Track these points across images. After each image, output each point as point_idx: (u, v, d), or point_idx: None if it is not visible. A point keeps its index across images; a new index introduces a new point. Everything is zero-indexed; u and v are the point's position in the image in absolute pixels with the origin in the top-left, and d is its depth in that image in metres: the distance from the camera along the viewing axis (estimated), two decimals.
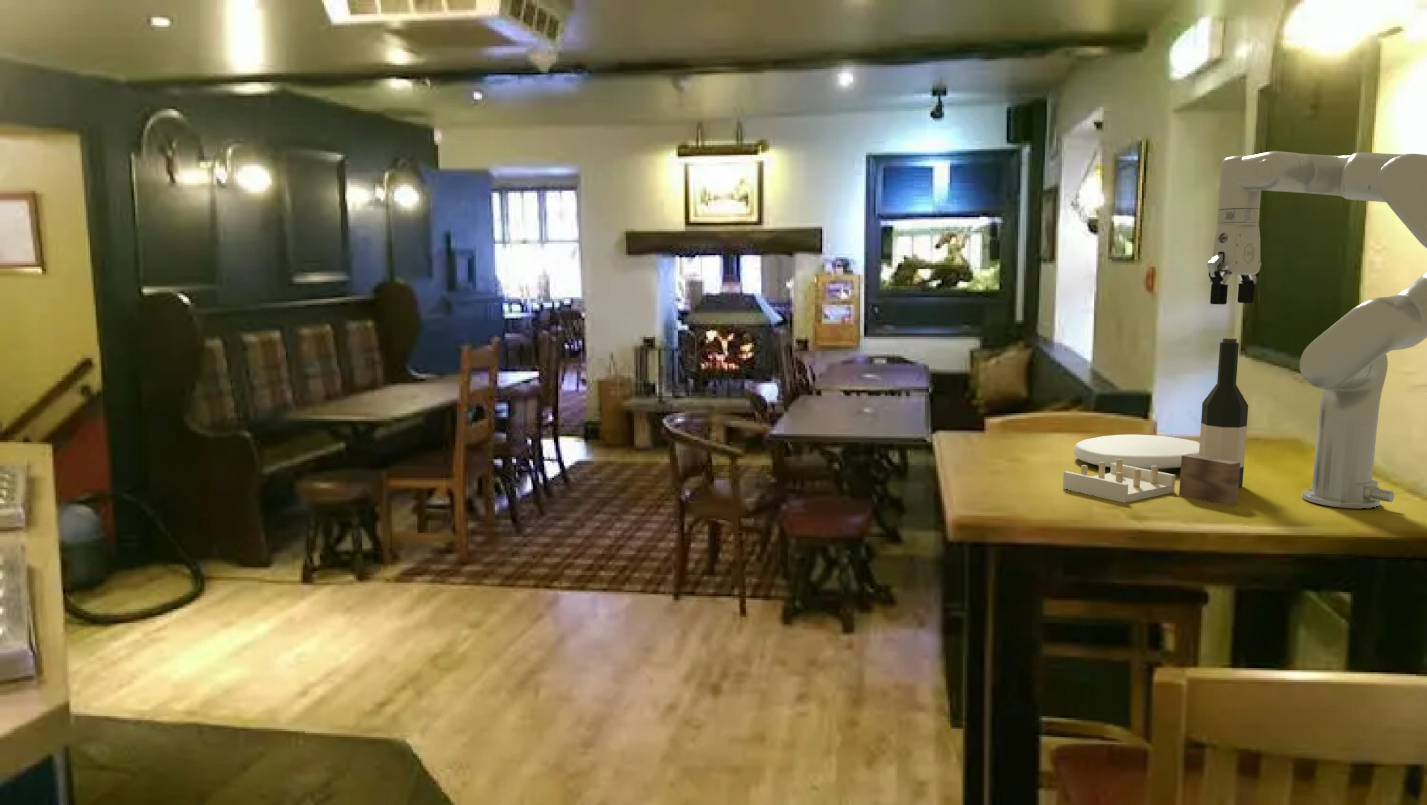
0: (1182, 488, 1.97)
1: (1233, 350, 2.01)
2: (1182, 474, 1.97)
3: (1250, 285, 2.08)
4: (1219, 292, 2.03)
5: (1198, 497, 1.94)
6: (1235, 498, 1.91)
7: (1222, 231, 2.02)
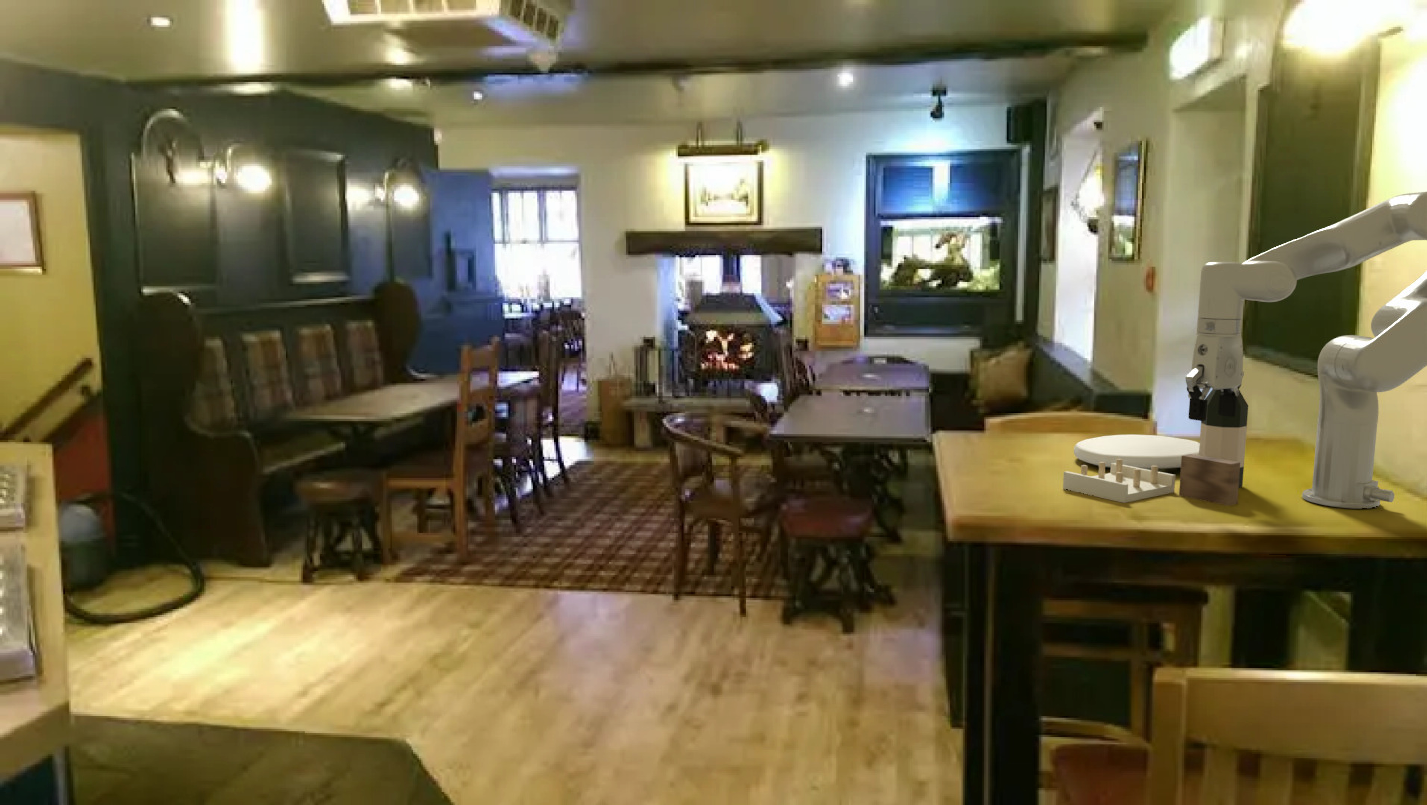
0: (1182, 488, 1.97)
1: None
2: (1182, 474, 1.97)
3: (1232, 398, 1.93)
4: (1198, 408, 1.88)
5: (1198, 497, 1.94)
6: (1235, 498, 1.91)
7: (1202, 342, 1.88)
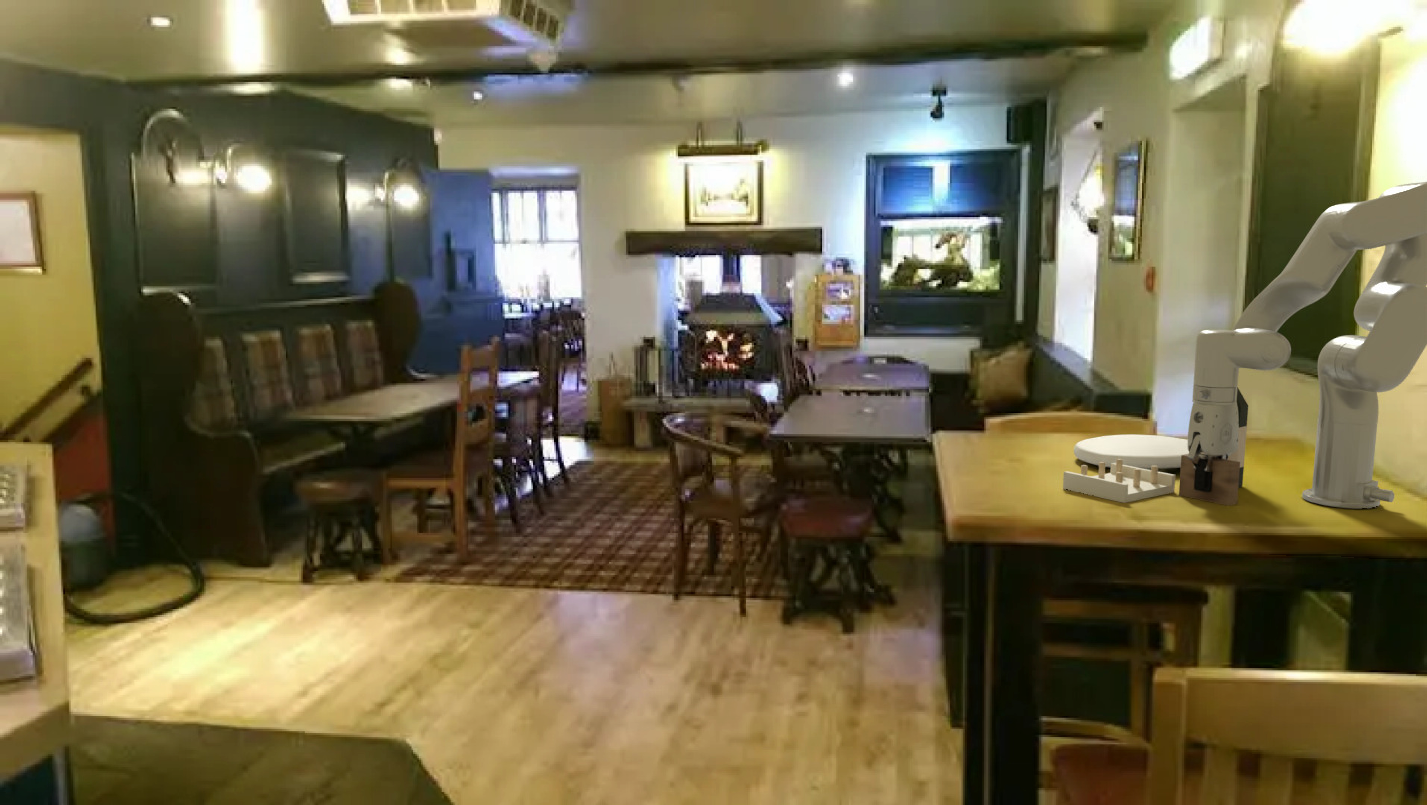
0: (1182, 488, 1.97)
1: None
2: (1182, 474, 1.97)
3: None
4: (1203, 479, 1.92)
5: (1198, 497, 1.94)
6: (1235, 497, 1.91)
7: (1198, 410, 1.90)
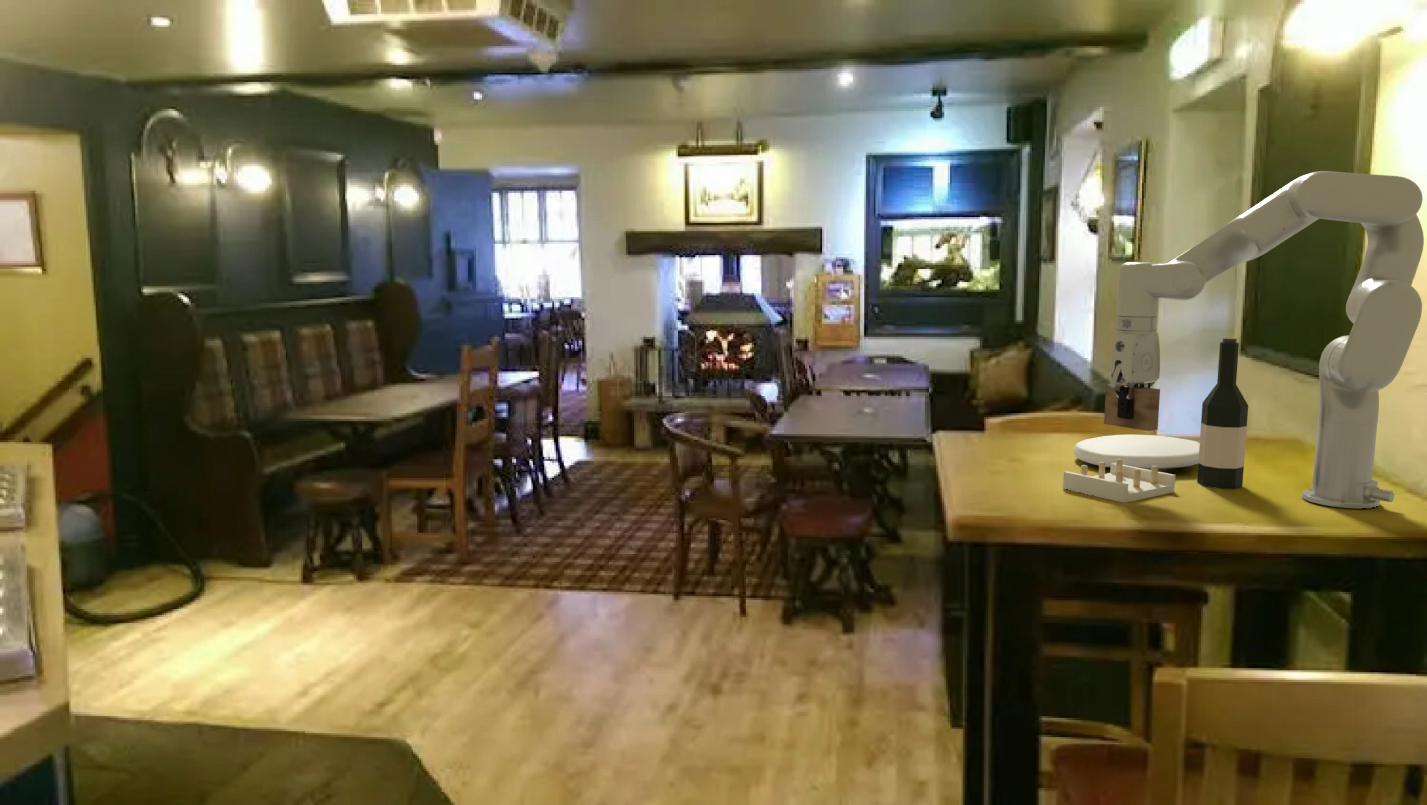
0: (1107, 416, 2.04)
1: (1233, 350, 2.01)
2: (1106, 403, 2.04)
3: None
4: (1125, 407, 1.99)
5: (1121, 424, 2.01)
6: (1156, 423, 1.98)
7: (1119, 339, 1.97)
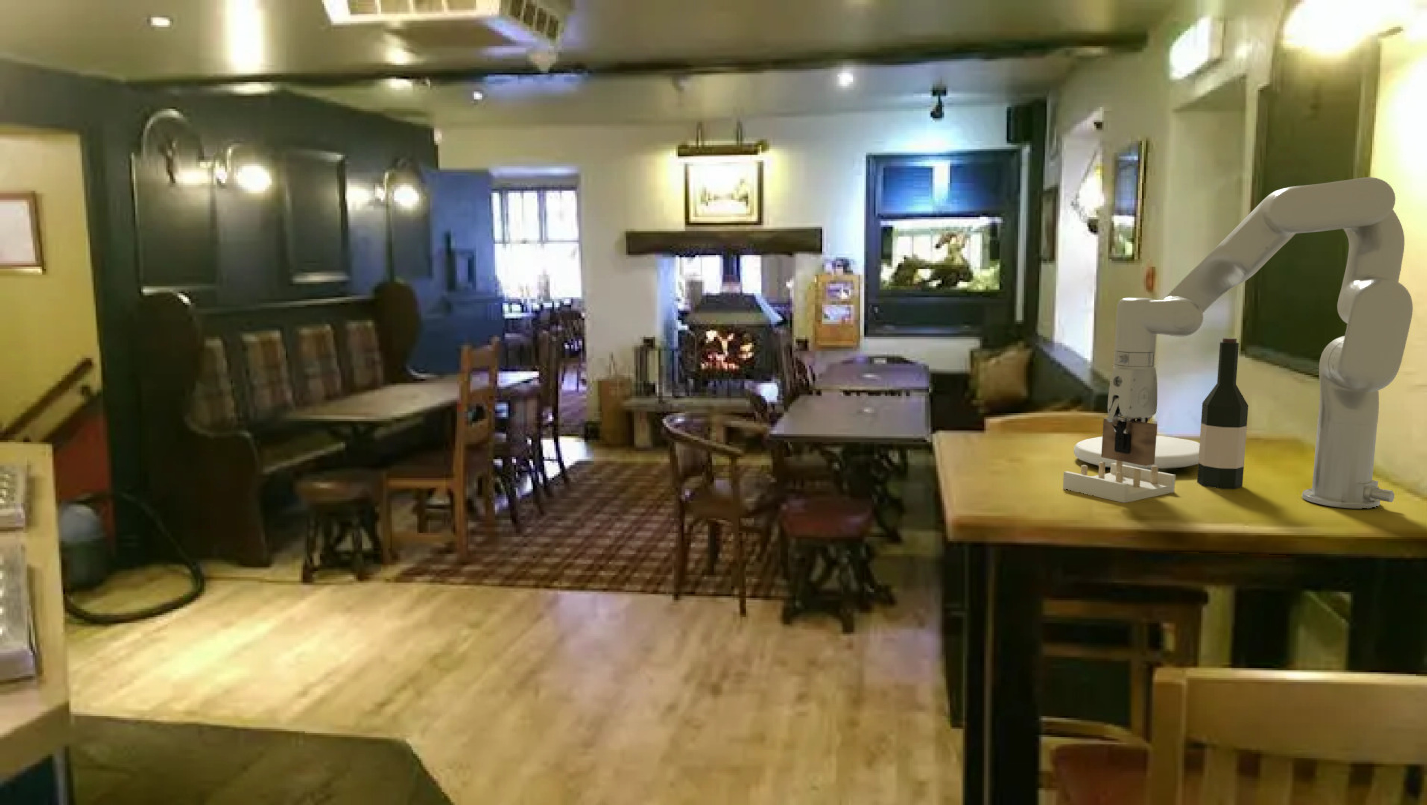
0: (1104, 450, 2.05)
1: (1233, 350, 2.01)
2: (1104, 436, 2.05)
3: None
4: (1122, 441, 2.00)
5: (1118, 458, 2.02)
6: (1152, 458, 1.99)
7: (1117, 374, 1.98)
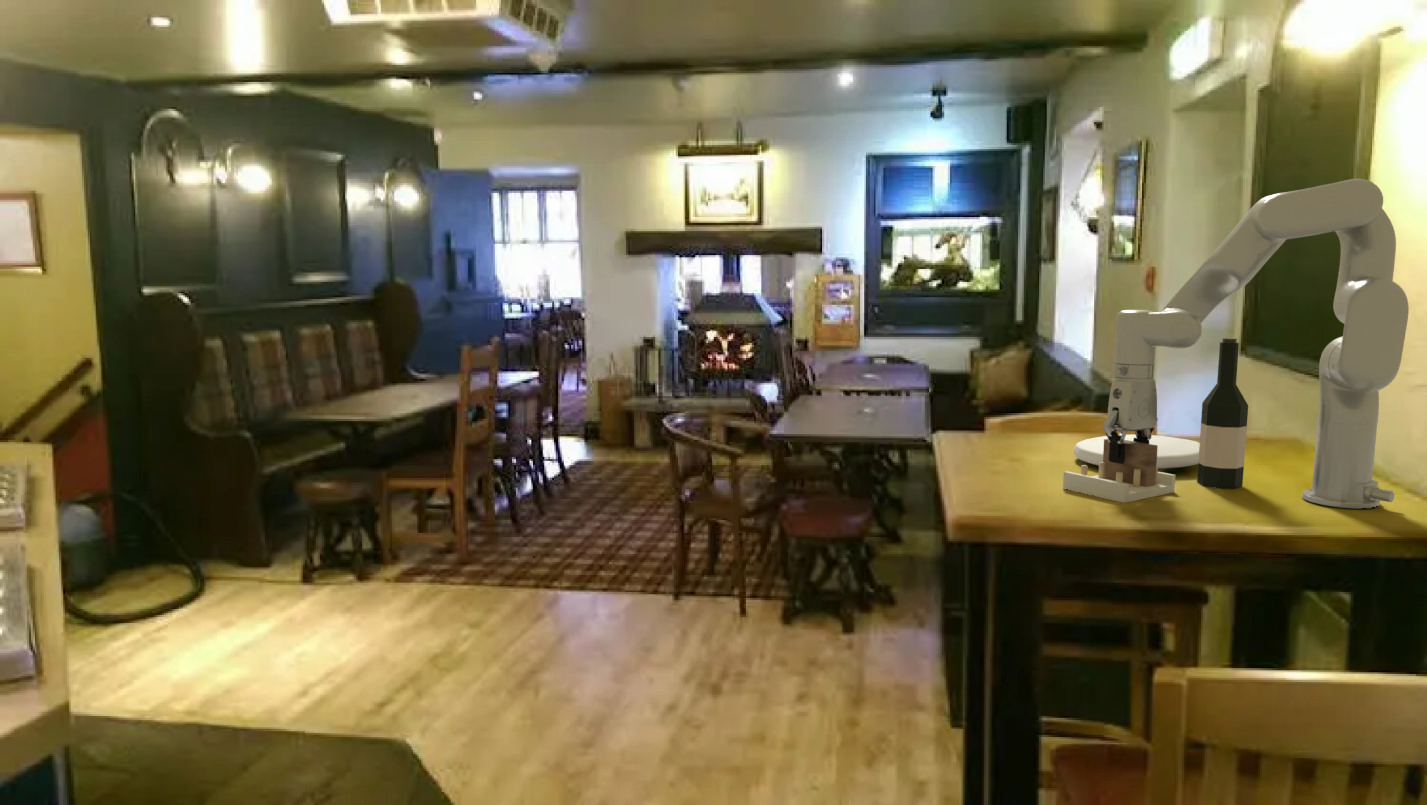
0: (1105, 471, 2.06)
1: (1233, 350, 2.01)
2: (1104, 457, 2.05)
3: (1144, 441, 2.03)
4: (1117, 451, 1.99)
5: None
6: (1153, 479, 1.99)
7: (1116, 386, 1.98)
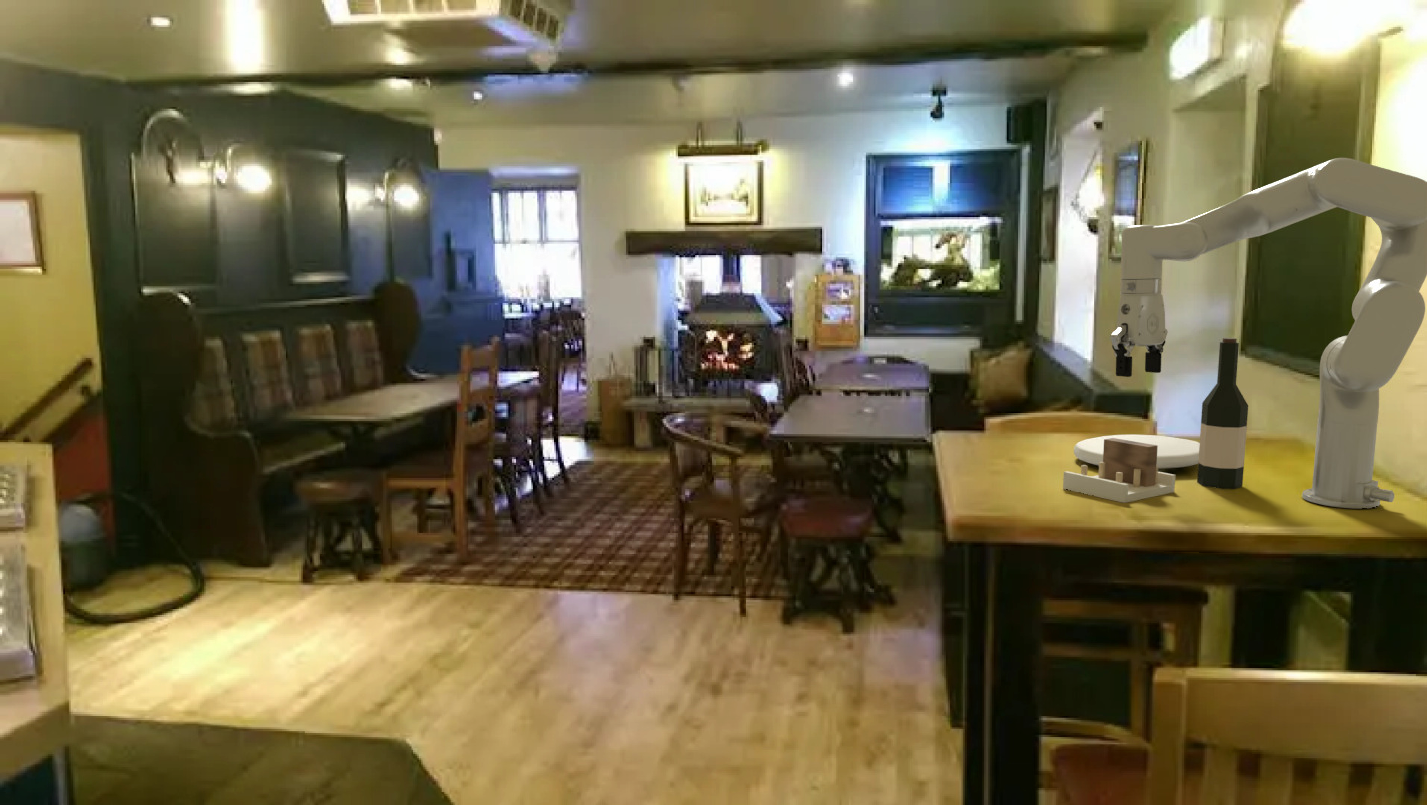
0: (1105, 471, 2.06)
1: (1232, 350, 2.01)
2: (1104, 457, 2.05)
3: (1156, 354, 2.03)
4: (1124, 364, 1.98)
5: None
6: (1153, 479, 1.99)
7: (1124, 302, 1.98)
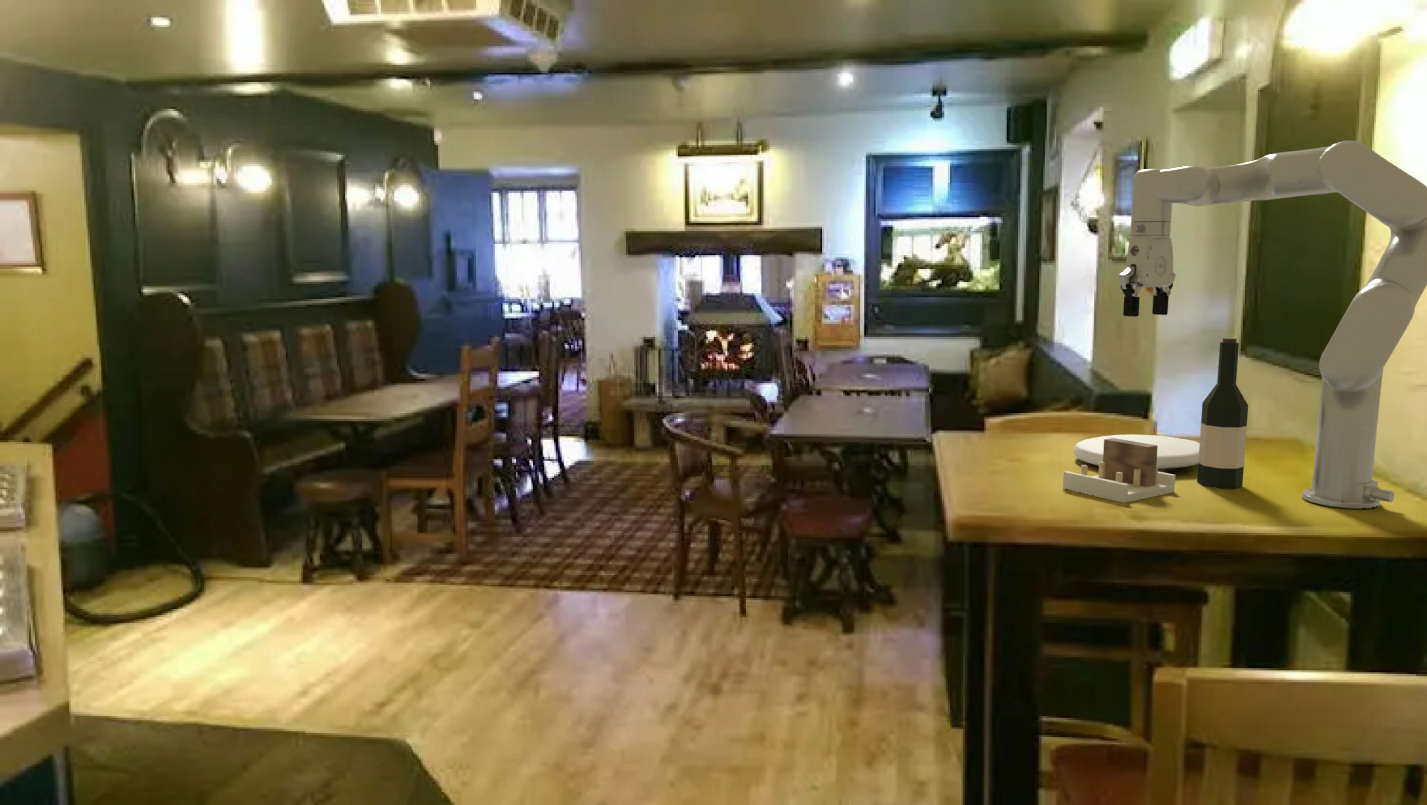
0: (1105, 471, 2.06)
1: (1233, 350, 2.01)
2: (1104, 457, 2.05)
3: (1164, 297, 2.09)
4: (1131, 304, 2.04)
5: None
6: (1153, 479, 1.99)
7: (1134, 244, 2.04)
